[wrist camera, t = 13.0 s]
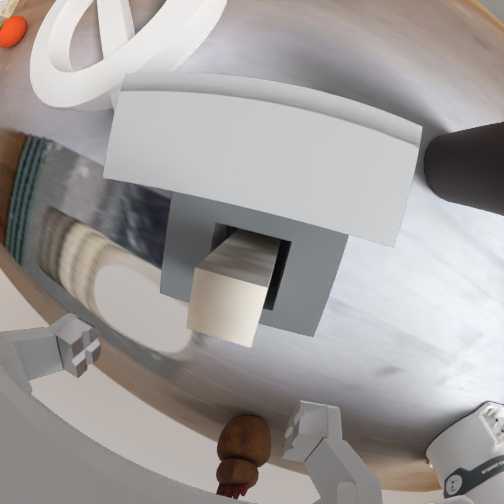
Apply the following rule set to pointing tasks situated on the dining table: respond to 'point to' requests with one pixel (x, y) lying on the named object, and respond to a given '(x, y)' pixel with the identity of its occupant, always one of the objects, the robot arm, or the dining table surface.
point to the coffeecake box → (7, 9)
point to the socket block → (263, 176)
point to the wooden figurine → (241, 454)
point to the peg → (233, 287)
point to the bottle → (469, 167)
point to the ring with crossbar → (115, 49)
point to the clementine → (12, 31)
